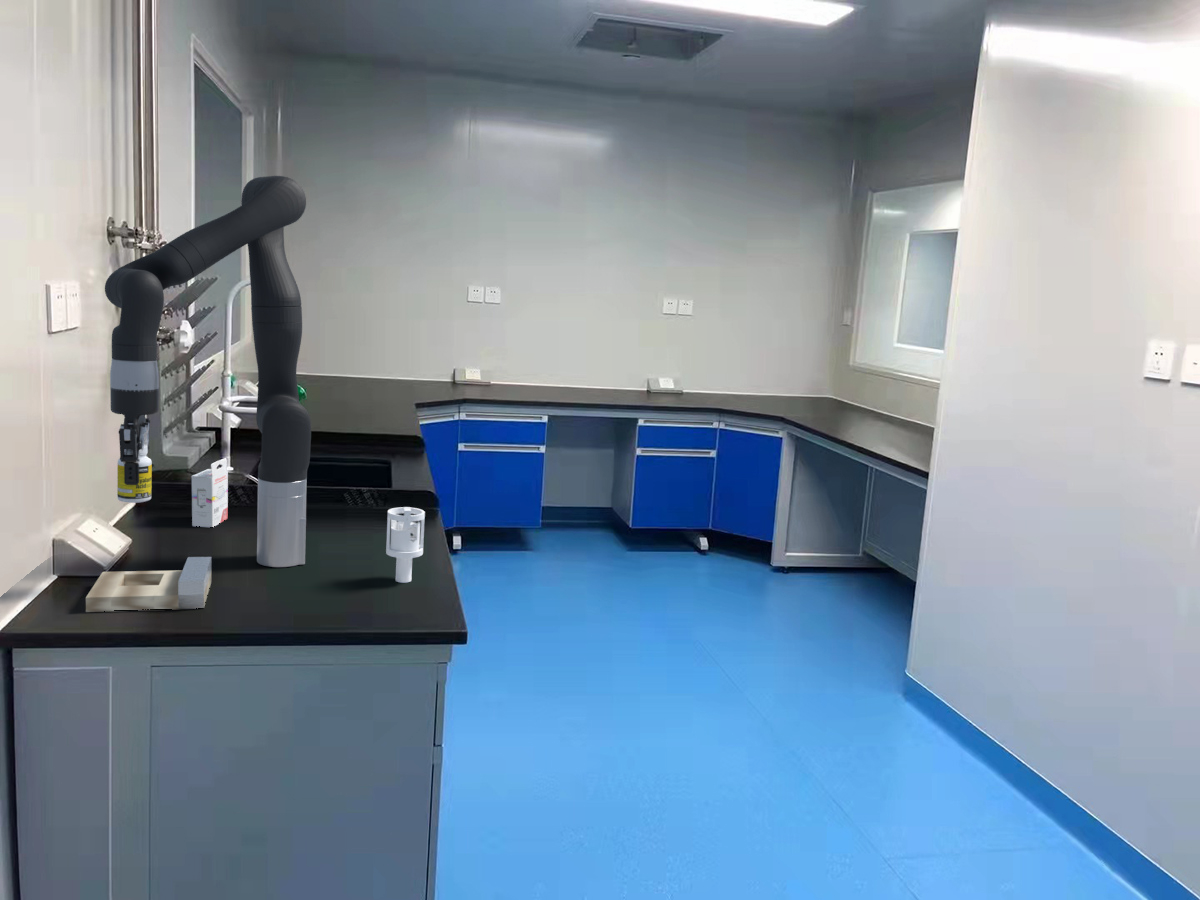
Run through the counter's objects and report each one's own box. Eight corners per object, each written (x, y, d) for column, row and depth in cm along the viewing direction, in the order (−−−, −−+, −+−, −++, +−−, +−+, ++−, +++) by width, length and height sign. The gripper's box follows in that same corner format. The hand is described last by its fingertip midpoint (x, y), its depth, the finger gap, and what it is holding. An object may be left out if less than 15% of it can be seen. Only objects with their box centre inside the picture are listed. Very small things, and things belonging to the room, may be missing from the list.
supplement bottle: (137, 504, 161) (136, 449, 160) (110, 500, 162) (109, 445, 161) (158, 498, 166) (158, 445, 165) (132, 495, 168) (132, 441, 166)
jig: (211, 582, 172) (211, 556, 171) (203, 608, 159) (203, 580, 158) (102, 585, 166) (102, 558, 166) (86, 612, 153) (85, 583, 152)
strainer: (385, 586, 178) (388, 510, 175) (384, 574, 184) (387, 501, 182) (423, 585, 180) (426, 510, 177) (420, 574, 186) (423, 501, 184)
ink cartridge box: (207, 517, 216) (207, 455, 214) (228, 519, 216) (228, 457, 214) (190, 526, 208) (190, 462, 205) (212, 528, 208) (212, 463, 205)
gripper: (150, 391, 155) (151, 490, 158) (165, 382, 169) (165, 473, 172) (101, 389, 153) (102, 489, 156) (119, 380, 167) (120, 472, 170)
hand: (135, 480), depth 164 cm, fingers closed on supplement bottle, 5 cm apart
